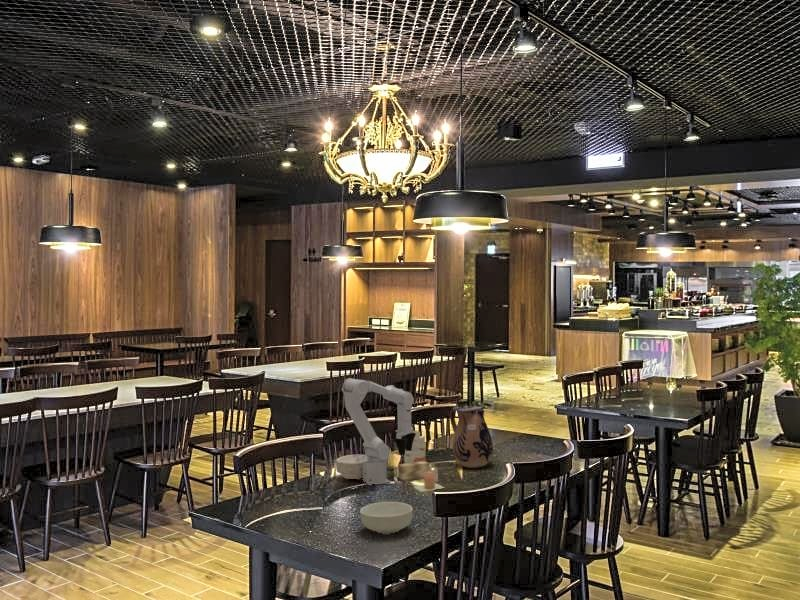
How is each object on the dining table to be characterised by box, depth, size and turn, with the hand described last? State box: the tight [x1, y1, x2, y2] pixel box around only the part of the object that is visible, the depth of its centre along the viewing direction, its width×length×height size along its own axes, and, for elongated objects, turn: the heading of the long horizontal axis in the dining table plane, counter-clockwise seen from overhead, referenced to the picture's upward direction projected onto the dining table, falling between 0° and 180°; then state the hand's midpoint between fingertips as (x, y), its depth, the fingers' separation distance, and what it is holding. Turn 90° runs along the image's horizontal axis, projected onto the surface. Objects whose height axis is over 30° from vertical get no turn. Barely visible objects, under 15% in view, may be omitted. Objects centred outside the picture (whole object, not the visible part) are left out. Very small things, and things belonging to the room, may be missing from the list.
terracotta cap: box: [423, 471, 435, 489], centre depth 276 cm, size 4×4×6 cm
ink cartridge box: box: [403, 430, 427, 464], centre depth 319 cm, size 9×5×15 cm, turn 62°
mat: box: [413, 483, 445, 494], centre depth 277 cm, size 10×7×1 cm
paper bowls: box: [335, 453, 368, 480], centre depth 297 cm, size 15×15×8 cm
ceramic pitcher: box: [449, 406, 494, 469], centre depth 312 cm, size 18×21×25 cm
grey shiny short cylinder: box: [428, 466, 439, 484], centre depth 285 cm, size 4×4×6 cm
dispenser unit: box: [396, 460, 430, 482], centre depth 293 cm, size 13×5×6 cm, turn 112°
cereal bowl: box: [359, 501, 414, 535], centre depth 230 cm, size 17×17×7 cm
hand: (405, 452), depth 298 cm, fingers open, 7 cm apart
